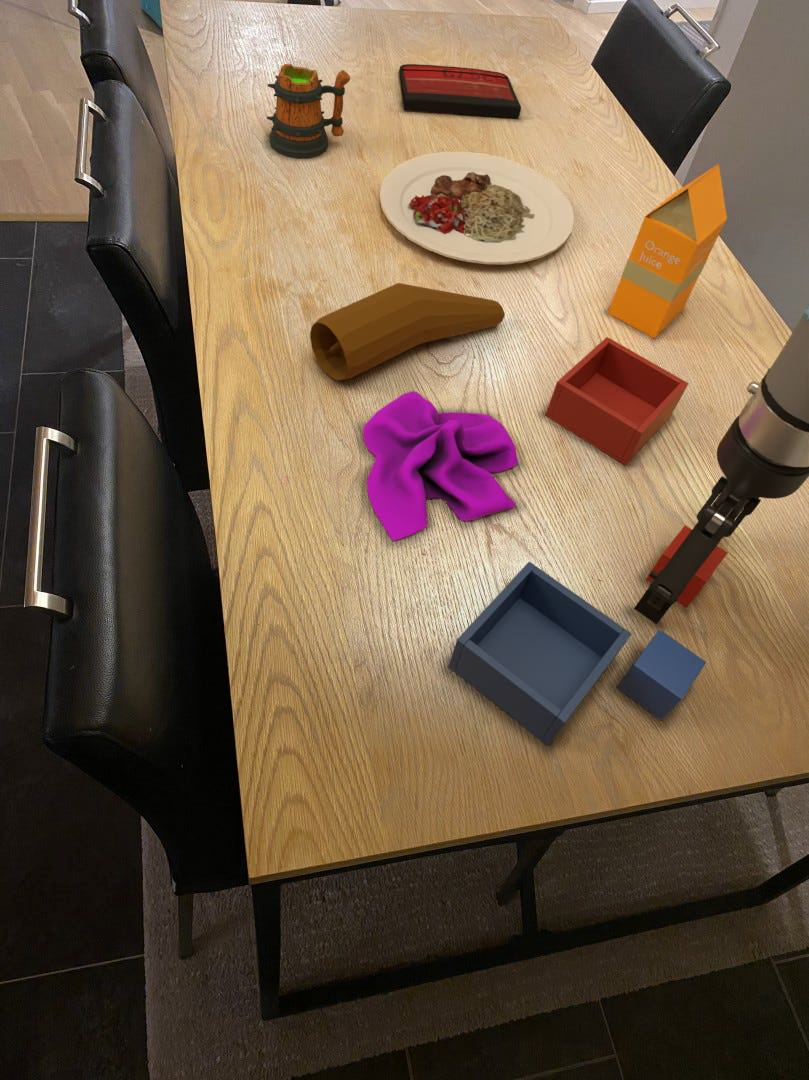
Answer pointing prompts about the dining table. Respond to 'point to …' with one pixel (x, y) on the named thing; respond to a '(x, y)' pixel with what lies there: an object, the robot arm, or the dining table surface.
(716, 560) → the red block
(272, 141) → the mug
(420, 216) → the plated food
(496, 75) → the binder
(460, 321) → the horn
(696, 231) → the orange juice
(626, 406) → the red bin
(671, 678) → the blue block
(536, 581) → the blue bin
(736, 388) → the dining table surface
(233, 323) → the dining table surface
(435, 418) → the cloth
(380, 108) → the dining table surface
